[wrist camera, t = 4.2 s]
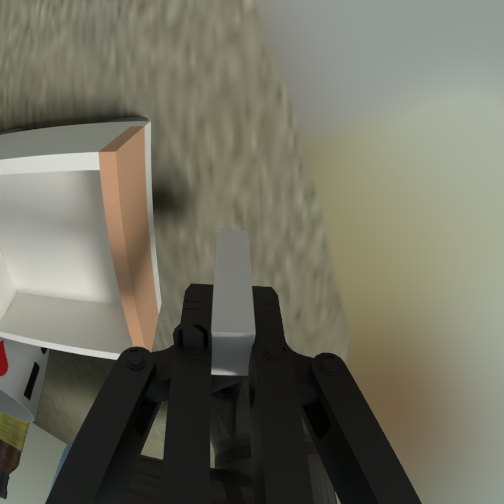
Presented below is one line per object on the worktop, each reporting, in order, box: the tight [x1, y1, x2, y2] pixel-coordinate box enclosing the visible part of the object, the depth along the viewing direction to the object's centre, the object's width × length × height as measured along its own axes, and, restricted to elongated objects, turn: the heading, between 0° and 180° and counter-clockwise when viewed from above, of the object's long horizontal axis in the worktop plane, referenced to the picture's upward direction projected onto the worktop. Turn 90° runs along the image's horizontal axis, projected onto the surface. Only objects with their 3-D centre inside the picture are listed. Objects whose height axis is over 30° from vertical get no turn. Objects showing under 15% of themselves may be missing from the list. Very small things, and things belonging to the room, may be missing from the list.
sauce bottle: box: [0, 411, 30, 499], centre depth 28 cm, size 7×6×20 cm
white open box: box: [0, 117, 161, 360], centre depth 16 cm, size 12×12×8 cm
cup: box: [0, 337, 49, 422], centre depth 22 cm, size 8×8×10 cm
